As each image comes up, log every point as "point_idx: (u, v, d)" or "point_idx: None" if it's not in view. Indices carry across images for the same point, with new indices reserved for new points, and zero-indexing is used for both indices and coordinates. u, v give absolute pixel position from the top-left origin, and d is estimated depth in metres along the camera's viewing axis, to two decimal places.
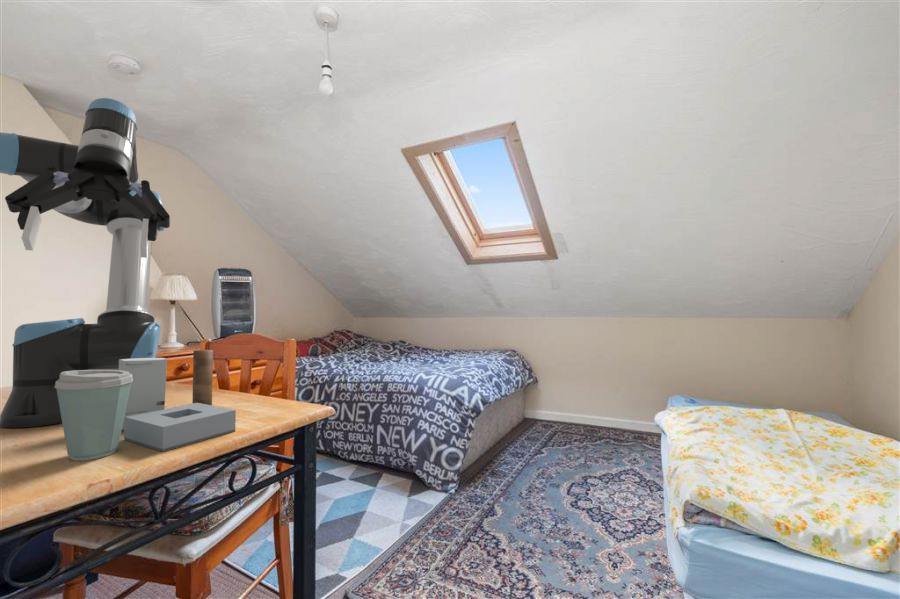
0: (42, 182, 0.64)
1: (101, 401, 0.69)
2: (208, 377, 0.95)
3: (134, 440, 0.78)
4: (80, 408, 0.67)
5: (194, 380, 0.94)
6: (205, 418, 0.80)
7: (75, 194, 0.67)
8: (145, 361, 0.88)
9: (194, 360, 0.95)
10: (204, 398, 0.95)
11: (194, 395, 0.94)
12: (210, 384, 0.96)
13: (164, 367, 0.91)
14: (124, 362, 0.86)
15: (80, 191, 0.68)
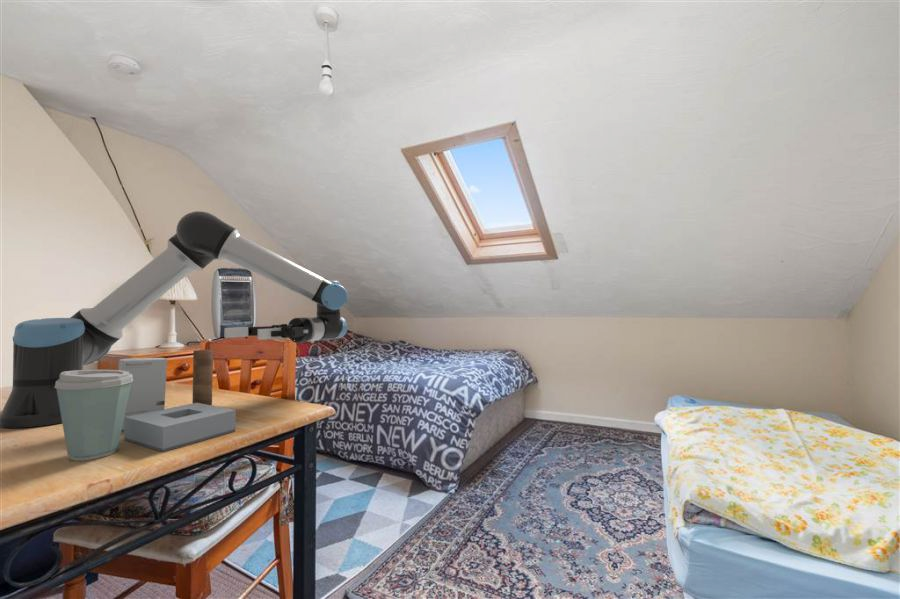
0: None
1: (101, 401, 0.69)
2: (208, 377, 0.95)
3: (134, 440, 0.78)
4: (80, 408, 0.67)
5: (194, 380, 0.94)
6: (205, 418, 0.80)
7: None
8: (145, 361, 0.88)
9: (194, 360, 0.95)
10: (204, 398, 0.95)
11: (194, 395, 0.94)
12: (210, 384, 0.96)
13: (164, 367, 0.91)
14: (124, 362, 0.86)
15: None
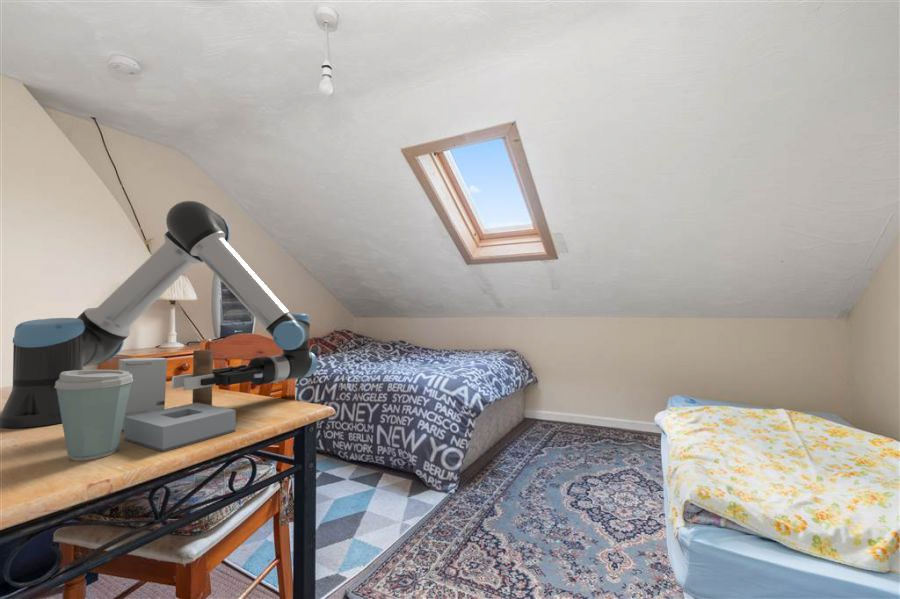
0: None
1: (101, 401, 0.69)
2: None
3: (134, 440, 0.78)
4: (80, 408, 0.67)
5: None
6: (205, 418, 0.80)
7: None
8: (145, 361, 0.88)
9: (194, 360, 0.95)
10: (204, 398, 0.95)
11: (194, 395, 0.94)
12: None
13: (164, 367, 0.91)
14: (124, 362, 0.86)
15: None
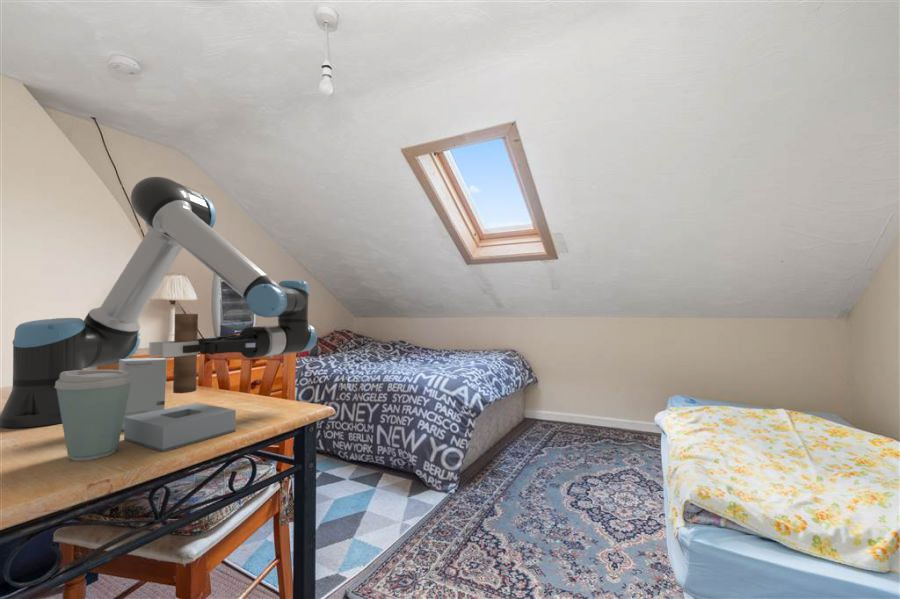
0: None
1: (100, 401, 0.68)
2: None
3: (134, 440, 0.78)
4: (80, 408, 0.67)
5: None
6: (205, 418, 0.80)
7: None
8: (145, 361, 0.88)
9: (176, 324, 0.82)
10: (187, 368, 0.82)
11: (175, 365, 0.81)
12: None
13: (164, 367, 0.91)
14: (124, 362, 0.86)
15: None
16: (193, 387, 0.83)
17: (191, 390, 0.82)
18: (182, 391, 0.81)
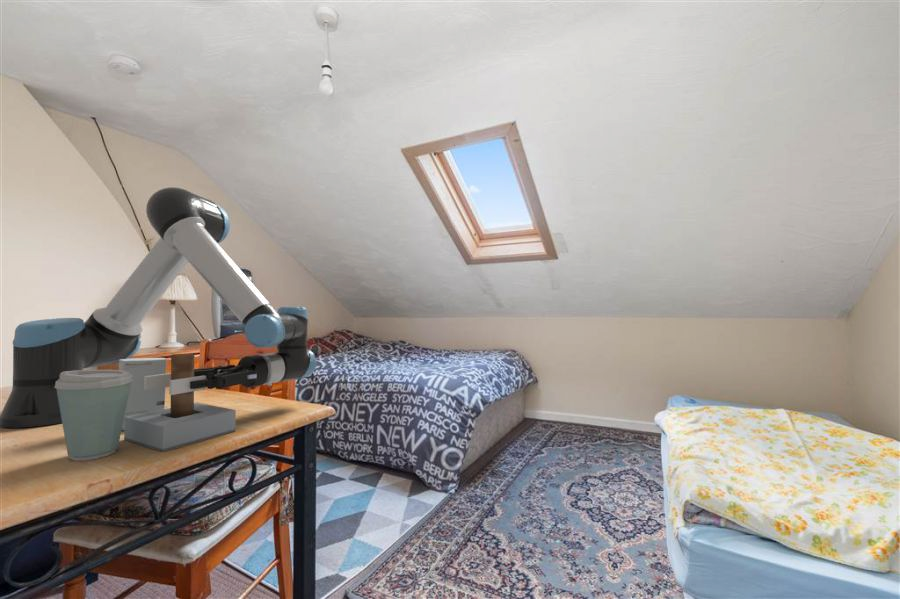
0: None
1: (101, 401, 0.69)
2: None
3: (134, 440, 0.78)
4: (80, 408, 0.67)
5: None
6: (205, 418, 0.80)
7: None
8: (145, 361, 0.88)
9: (172, 365, 0.81)
10: (184, 409, 0.81)
11: (172, 406, 0.81)
12: (191, 393, 0.83)
13: (164, 367, 0.91)
14: (124, 362, 0.86)
15: None
16: None
17: None
18: None
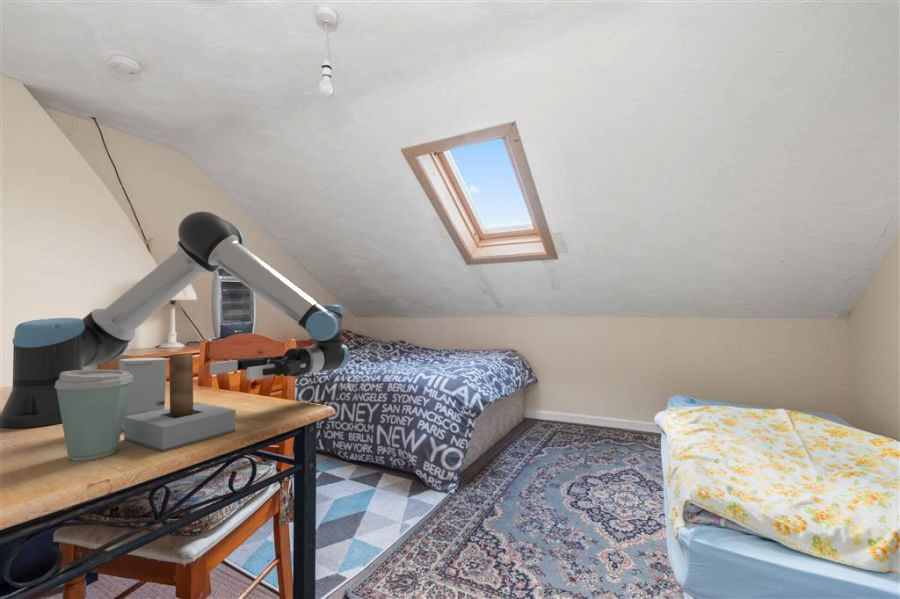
0: None
1: (100, 401, 0.69)
2: (188, 385, 0.82)
3: (134, 440, 0.78)
4: (80, 408, 0.67)
5: (171, 389, 0.81)
6: (205, 418, 0.80)
7: None
8: (145, 361, 0.88)
9: (170, 366, 0.81)
10: (183, 410, 0.81)
11: (171, 407, 0.81)
12: (190, 393, 0.83)
13: (164, 367, 0.91)
14: (124, 362, 0.86)
15: None
16: None
17: None
18: None
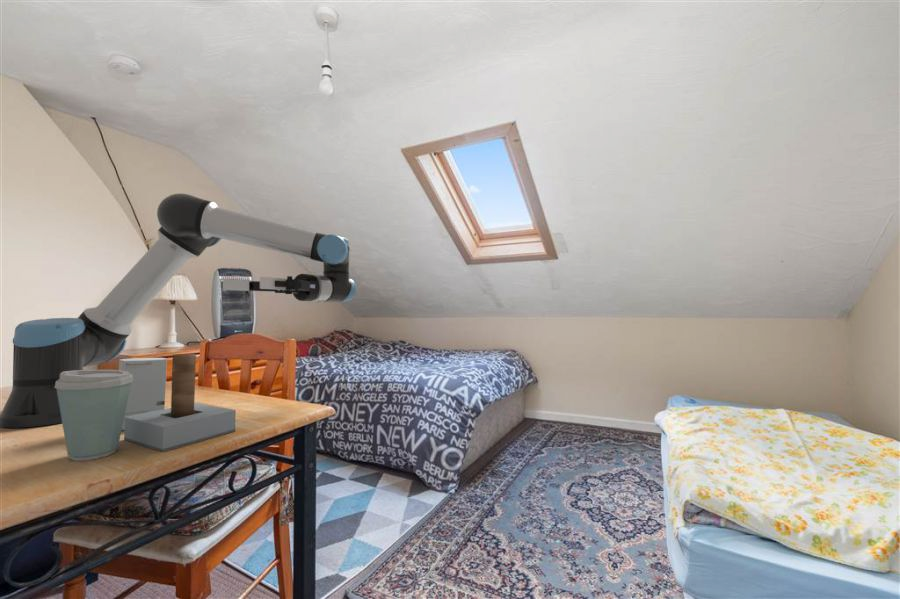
0: (302, 290, 1.02)
1: (101, 401, 0.69)
2: (190, 385, 0.82)
3: (134, 440, 0.78)
4: (80, 408, 0.67)
5: (173, 389, 0.81)
6: (205, 418, 0.80)
7: None
8: (145, 361, 0.88)
9: (173, 366, 0.81)
10: (184, 410, 0.81)
11: (173, 407, 0.81)
12: (192, 394, 0.83)
13: (164, 367, 0.91)
14: (124, 362, 0.86)
15: None
16: None
17: None
18: None
